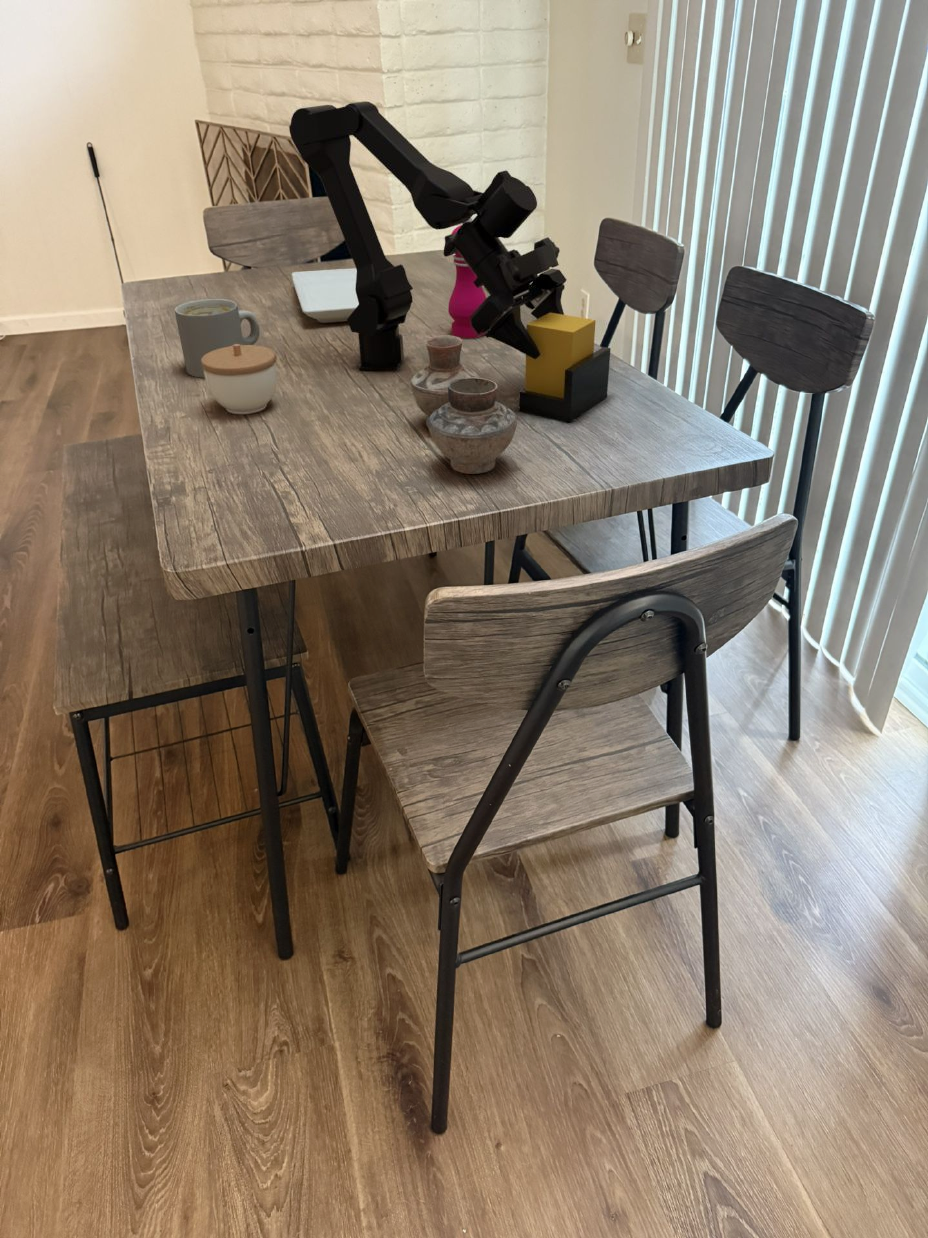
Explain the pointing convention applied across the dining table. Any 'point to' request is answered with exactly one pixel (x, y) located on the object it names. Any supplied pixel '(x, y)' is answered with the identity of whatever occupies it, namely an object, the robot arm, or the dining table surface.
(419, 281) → the dining table surface
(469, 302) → the pepper mill
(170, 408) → the dining table surface
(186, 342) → the coffee mug
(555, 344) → the storage box
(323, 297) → the tray
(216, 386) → the trinket box
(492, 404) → the pottery
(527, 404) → the rack
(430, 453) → the dining table surface
